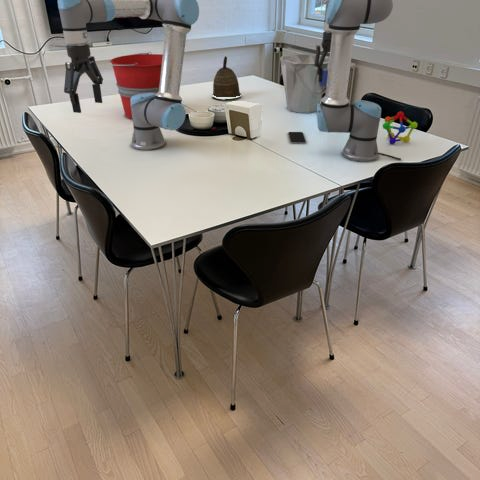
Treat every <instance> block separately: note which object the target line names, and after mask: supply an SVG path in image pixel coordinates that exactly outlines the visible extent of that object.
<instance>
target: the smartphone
mask: <svg viewBox="0 0 480 480" xmlns="http://www.w3.org/2000/svg"><path fill="white" fill-rule="evenodd" d="M288 138H289V142H290V144H306V142H307V141H306V138H305V135H304V132H303V131H288Z"/></svg>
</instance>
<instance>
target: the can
mask: <svg viewBox="0 0 480 480" xmlns="http://www.w3.org/2000/svg"><path fill="white" fill-rule="evenodd" d="M327 76H328V68H324V69H323V71H322V81H321V82H320V85H321V86H325V87H326V85H327Z"/></svg>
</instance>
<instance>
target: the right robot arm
mask: <svg viewBox="0 0 480 480" xmlns="http://www.w3.org/2000/svg"><path fill="white" fill-rule="evenodd" d="M393 7H394V5H393V0H325V9H324V21H323V32H322V41H321V44H320V43H319V44H316V45H315V49H316V51H315V55H316V57H315V64H314V66H316V67H318V71H317V74H318V75H319V78H318V81H319V82H321V81H322V71H323V68H321V67H322V64H323V62H324V59H325V56H327V55H328V53H329V67H328V76H327V85H326V86H325V90H326V91H325V93H324V94H325V95H324V96H322V99H321V102H320V103H319V104H317V111H316V122H317V128H318V130H319V132H321V133H342V134H343V133H345V134H347V133H348V134H349V135H348V139H347V141H346V143H345V145H344V147H343V148H342V157H344V158H345V159H348V160H349V161H352V162H353V161H354V162H360V163H368V162H373V161H376V160H378V158H379V156H382V157H387V158H391V159H394V160H398V161H401V160H402V157H398V156H394V155H390V154H386V153H382V152H379V148H378V142H377V139H378V133H379V127H380V122H381V118H382V107H381V106H380V105H379V104H378V103H375V102H373V101H369V100H363V99H357V100H354V101H353V103H352V104H350V100H349V98H348V97H347V93H348V86H349V79H350V72H351V66H352V65H351V64H352V57H353V49H354V41H355V35H356V34H357V33H358V32H359V31H360V30H361V25H372V24H377V23H380V22H383V21H385V20H386V19H388V18H389V17H390V15H391V14H392V11H393ZM321 50H322V51H321ZM320 55H321V58H320V61H319V57H320Z"/></svg>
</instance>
